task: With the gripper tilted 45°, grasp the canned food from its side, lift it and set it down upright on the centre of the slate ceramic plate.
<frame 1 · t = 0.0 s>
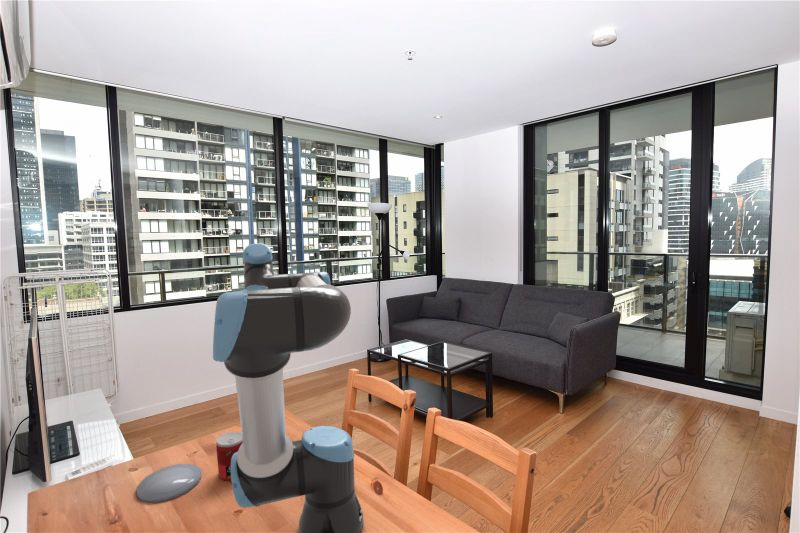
hand: (263, 335, 137), 36 cm above the table, tool tilted 35°, fingers open, 13 cm apart
canned food: (233, 474, 122), on the table
slate plate: (170, 483, 118), on the table
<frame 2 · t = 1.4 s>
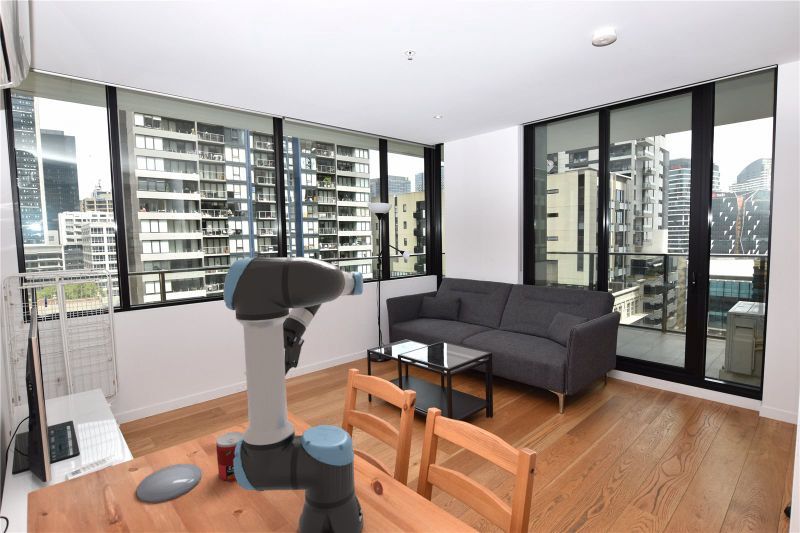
hand: (260, 380, 128), 25 cm above the table, tool tilted 45°, fingers open, 13 cm apart
nothing on the table moved.
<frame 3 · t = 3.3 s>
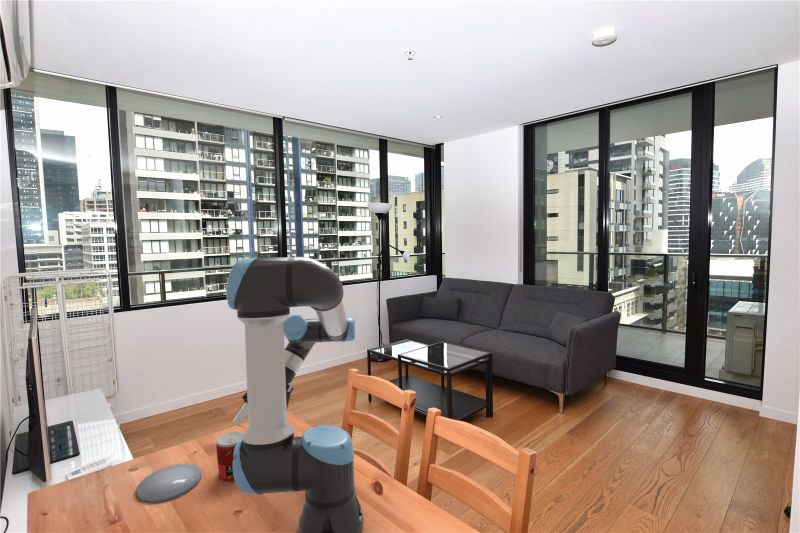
hand: (248, 430, 126), 10 cm above the table, tool tilted 45°, fingers open, 13 cm apart
nothing on the table moved.
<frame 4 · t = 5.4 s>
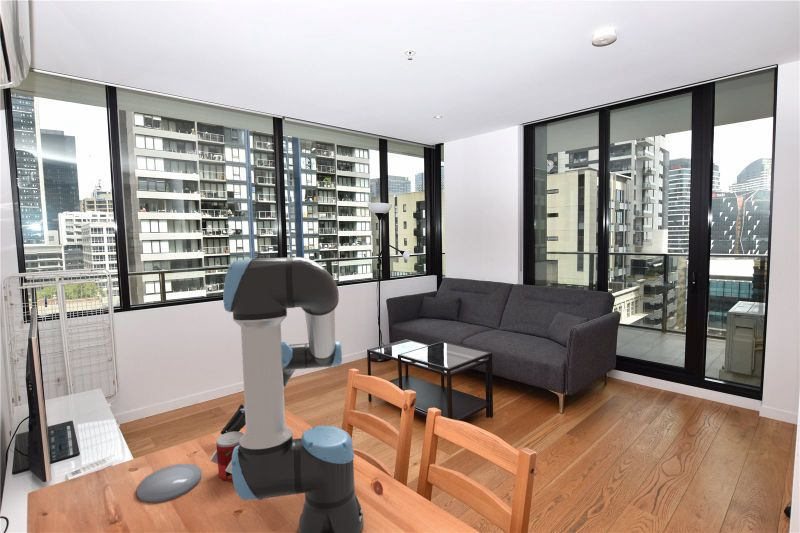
hand: (221, 467, 119), 4 cm above the table, tool tilted 45°, fingers closed on canned food, 8 cm apart
canned food: (233, 474, 122), on the table, touching gripper
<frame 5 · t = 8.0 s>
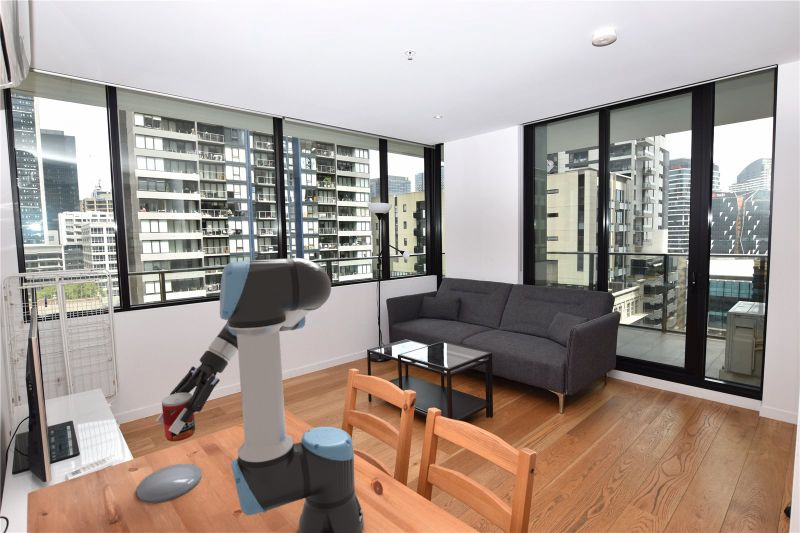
hand: (166, 427, 116), 17 cm above the table, tool tilted 45°, fingers closed on canned food, 8 cm apart
canned food: (180, 435, 119), point 13 cm above the table, touching gripper
when the fingers open (6 cm above the table, at t = 10.7 s): canned food drops 1 cm, resting on slate plate.
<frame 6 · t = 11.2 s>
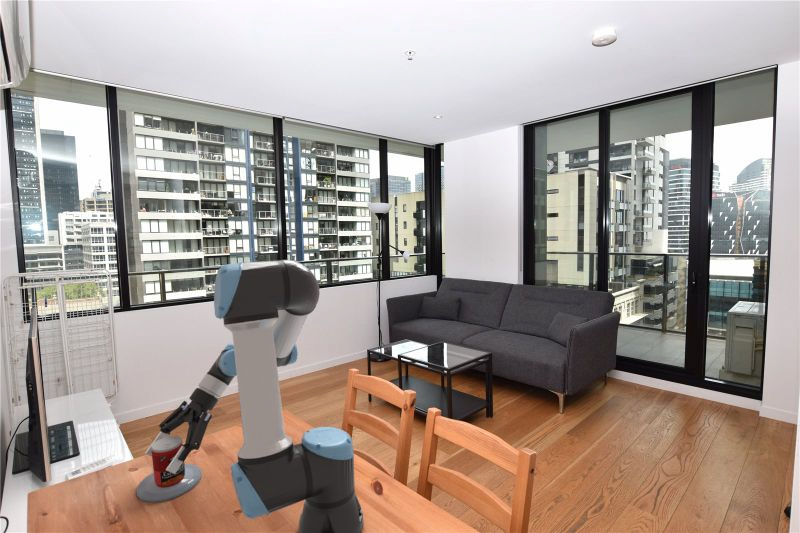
hand: (159, 463, 115), 7 cm above the table, tool tilted 45°, fingers open, 13 cm apart
canned food: (170, 480, 118), point 1 cm above the table, touching slate plate
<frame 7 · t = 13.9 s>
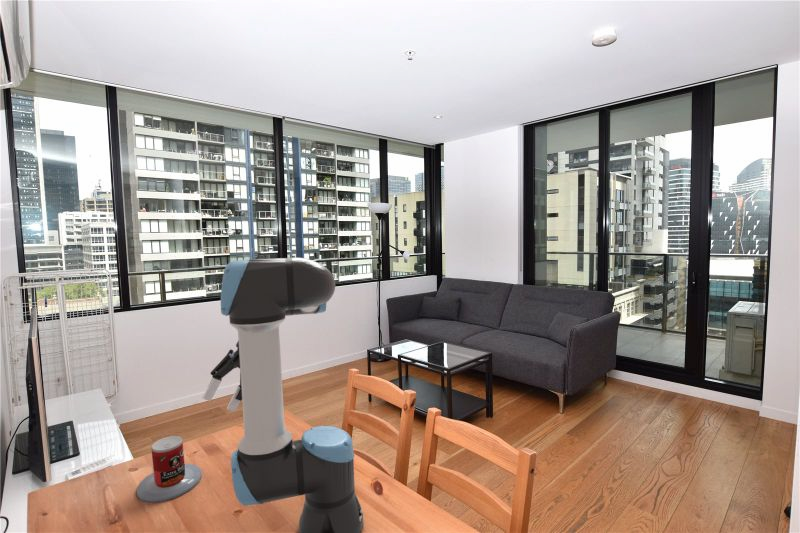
hand: (217, 405, 125), 19 cm above the table, tool tilted 40°, fingers open, 13 cm apart
nothing on the table moved.
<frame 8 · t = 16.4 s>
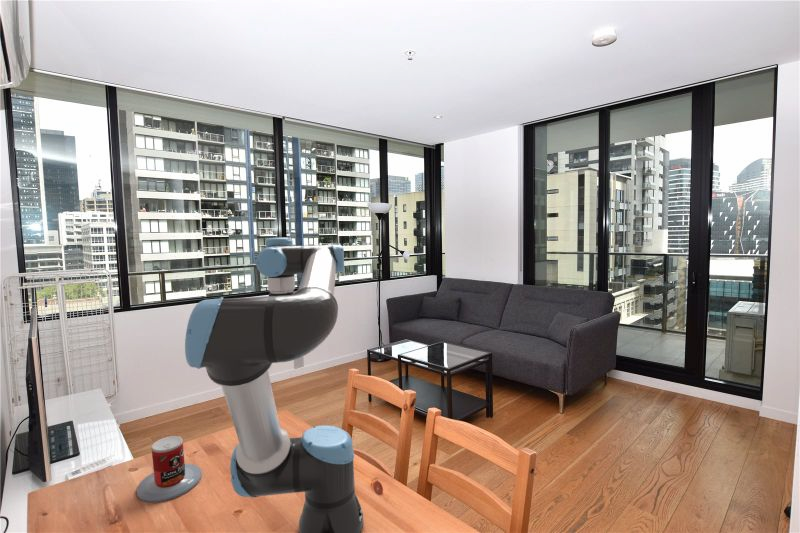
hand: (286, 362, 122), 32 cm above the table, tool pointing down, fingers open, 13 cm apart
nothing on the table moved.
at the end: canned food inside the target area on the slate plate (0.1 cm from its centre), point 0.9 cm above the slate plate's base; canned food tilted 0°; the gripper is holding nothing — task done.
